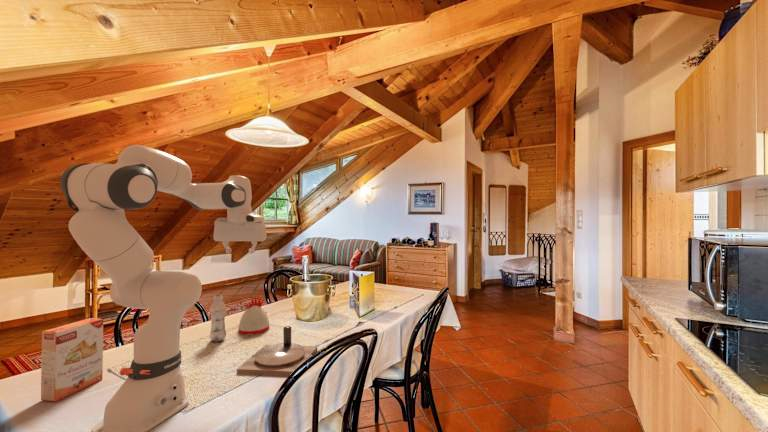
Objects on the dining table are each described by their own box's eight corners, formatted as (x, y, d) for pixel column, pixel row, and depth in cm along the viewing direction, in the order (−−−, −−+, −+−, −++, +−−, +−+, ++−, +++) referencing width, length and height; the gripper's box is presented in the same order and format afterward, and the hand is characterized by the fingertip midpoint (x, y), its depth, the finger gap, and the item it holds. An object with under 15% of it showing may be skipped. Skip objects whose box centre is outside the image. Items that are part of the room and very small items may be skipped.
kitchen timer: (272, 330, 157) (272, 299, 157) (241, 337, 149) (241, 304, 149) (265, 323, 168) (264, 294, 168) (236, 328, 161) (236, 298, 161)
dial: (294, 368, 114) (294, 343, 114) (245, 365, 116) (245, 341, 116) (310, 347, 132) (310, 326, 132) (268, 345, 134) (268, 325, 134)
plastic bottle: (223, 336, 149) (222, 293, 149) (228, 340, 145) (228, 295, 145) (207, 340, 145) (207, 295, 145) (212, 344, 140) (212, 298, 140)
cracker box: (56, 403, 97) (55, 332, 97) (40, 401, 98) (39, 331, 98) (104, 379, 110) (104, 317, 110) (89, 378, 111) (89, 316, 111)
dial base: (297, 376, 112) (297, 371, 112) (236, 373, 114) (236, 368, 114) (317, 350, 134) (317, 345, 134) (265, 348, 136) (265, 343, 136)
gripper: (209, 217, 125) (210, 253, 126) (260, 217, 124) (261, 253, 124) (219, 217, 132) (219, 251, 132) (268, 217, 130) (268, 251, 130)
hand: (240, 252), depth 128 cm, fingers open, 8 cm apart
